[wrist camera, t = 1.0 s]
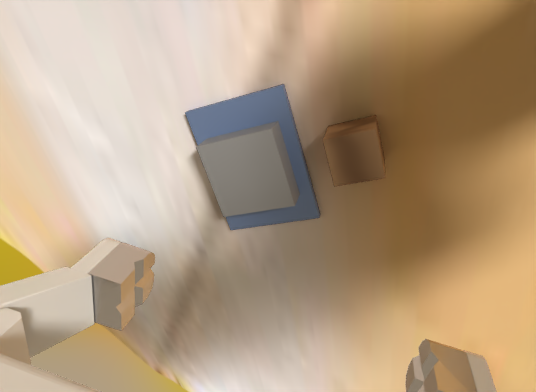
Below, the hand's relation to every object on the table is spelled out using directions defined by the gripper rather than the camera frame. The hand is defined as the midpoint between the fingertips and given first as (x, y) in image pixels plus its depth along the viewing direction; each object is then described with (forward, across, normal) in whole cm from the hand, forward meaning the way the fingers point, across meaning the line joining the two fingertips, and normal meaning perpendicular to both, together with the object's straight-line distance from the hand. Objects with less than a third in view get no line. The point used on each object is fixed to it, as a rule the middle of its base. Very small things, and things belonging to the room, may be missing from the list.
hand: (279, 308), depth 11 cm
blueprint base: (+32, +8, +10) cm, 34 cm away
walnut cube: (+32, -3, +5) cm, 32 cm away
